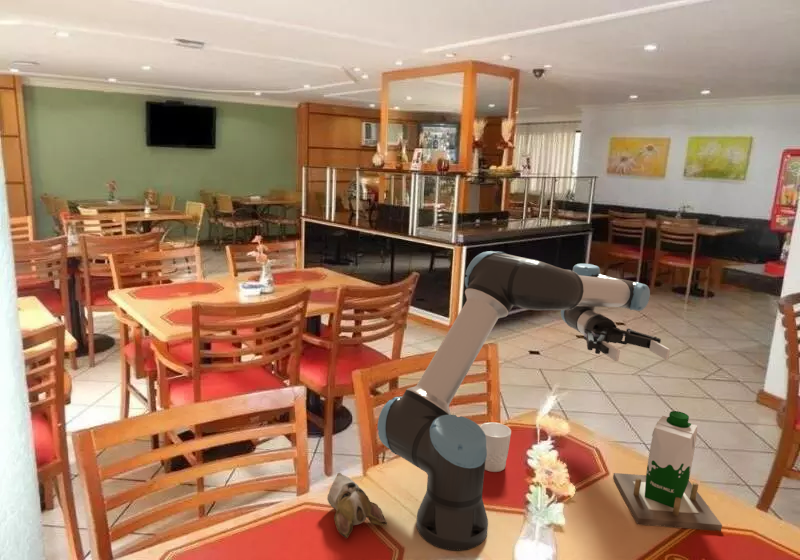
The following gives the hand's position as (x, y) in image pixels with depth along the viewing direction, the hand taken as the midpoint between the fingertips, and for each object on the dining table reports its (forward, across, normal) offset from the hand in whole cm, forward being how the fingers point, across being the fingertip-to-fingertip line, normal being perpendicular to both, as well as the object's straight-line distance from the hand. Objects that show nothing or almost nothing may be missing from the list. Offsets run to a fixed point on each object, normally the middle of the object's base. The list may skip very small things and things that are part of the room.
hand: (643, 355), depth 139 cm
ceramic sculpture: (+9, +71, -32) cm, 79 cm away
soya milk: (+13, -2, -30) cm, 33 cm away
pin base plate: (+13, -2, -32) cm, 34 cm away
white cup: (-8, +33, -32) cm, 47 cm away
